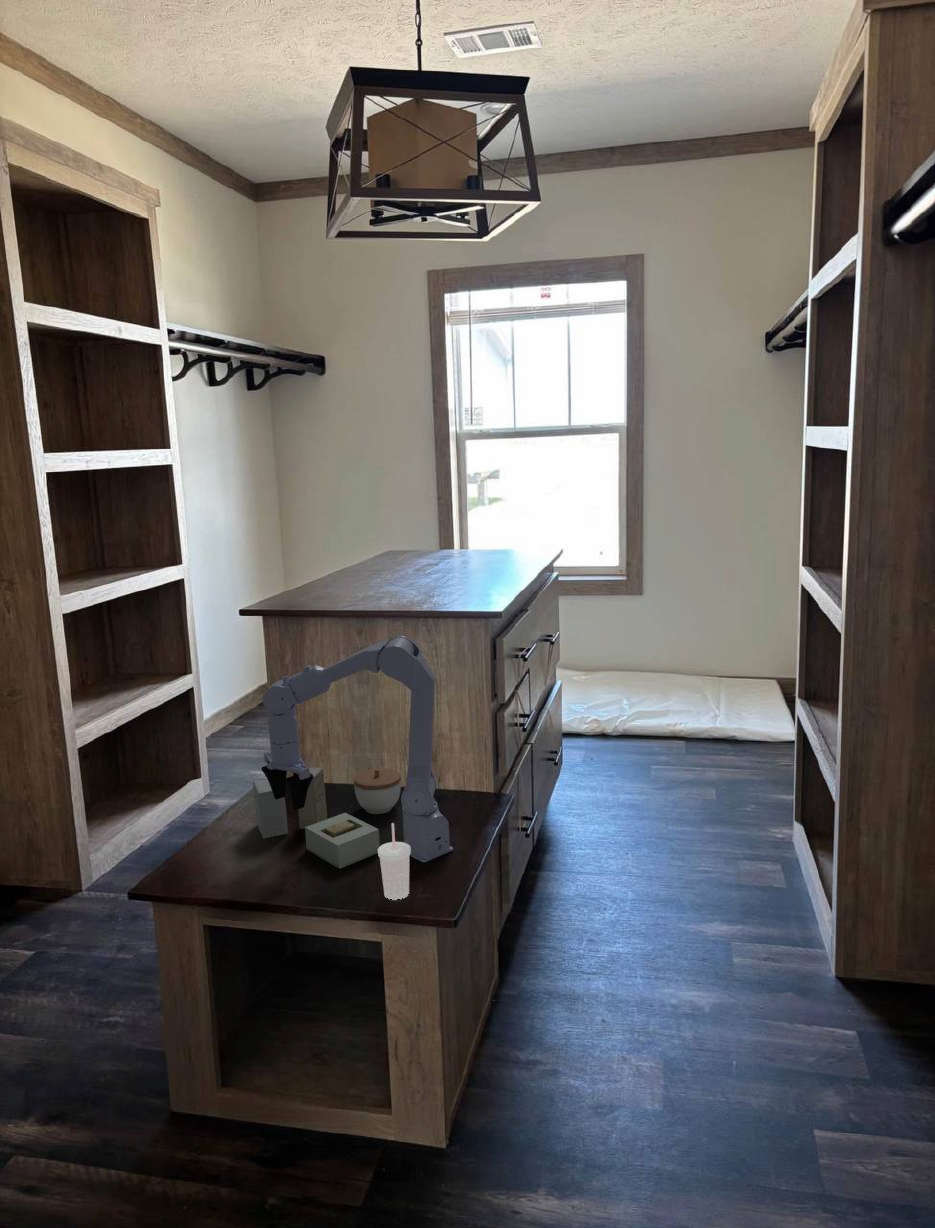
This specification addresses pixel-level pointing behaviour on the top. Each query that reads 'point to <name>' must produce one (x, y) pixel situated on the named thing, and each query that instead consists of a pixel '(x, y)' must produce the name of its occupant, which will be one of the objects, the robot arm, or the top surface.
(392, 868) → the beverage cup
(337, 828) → the wooden rectangular block
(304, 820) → the skincare box
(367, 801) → the lidded jar
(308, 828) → the slot box
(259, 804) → the small box
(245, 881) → the top surface
